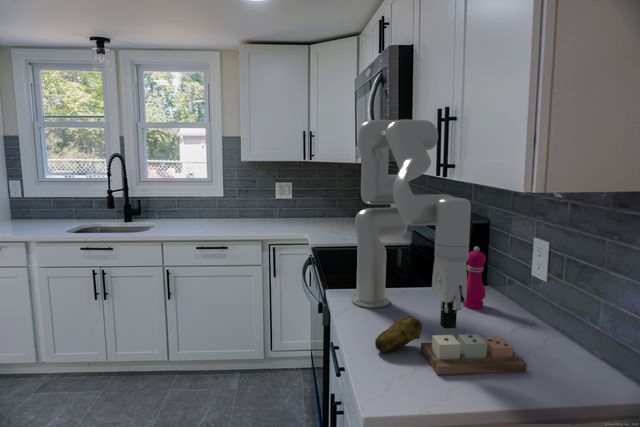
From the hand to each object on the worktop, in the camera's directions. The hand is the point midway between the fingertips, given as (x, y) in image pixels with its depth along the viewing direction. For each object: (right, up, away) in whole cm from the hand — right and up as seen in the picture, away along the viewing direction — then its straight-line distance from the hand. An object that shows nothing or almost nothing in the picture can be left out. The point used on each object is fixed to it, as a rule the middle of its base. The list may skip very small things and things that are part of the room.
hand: (448, 326), depth 101 cm
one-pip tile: (0, -7, +2) cm, 7 cm away
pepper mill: (+20, -4, +39) cm, 44 cm away
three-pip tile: (+13, -8, +3) cm, 16 cm away
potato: (-10, -8, +9) cm, 16 cm away
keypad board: (+6, -9, +2) cm, 11 cm away
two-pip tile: (+6, -7, +2) cm, 10 cm away
